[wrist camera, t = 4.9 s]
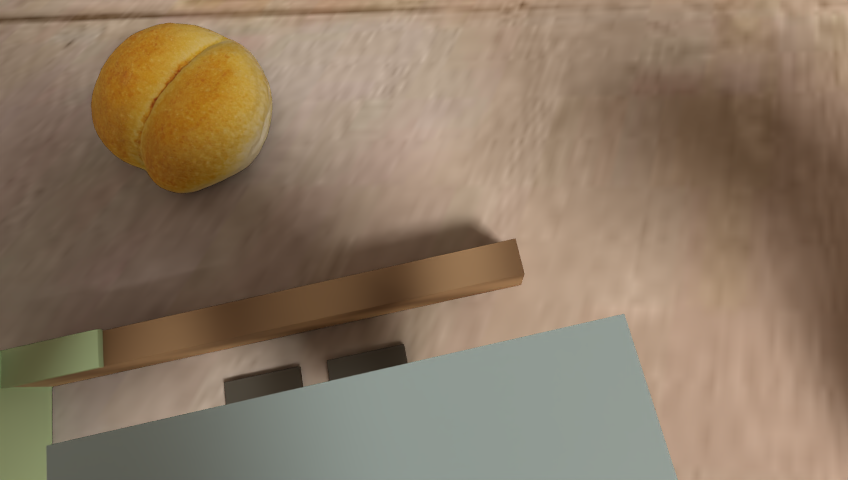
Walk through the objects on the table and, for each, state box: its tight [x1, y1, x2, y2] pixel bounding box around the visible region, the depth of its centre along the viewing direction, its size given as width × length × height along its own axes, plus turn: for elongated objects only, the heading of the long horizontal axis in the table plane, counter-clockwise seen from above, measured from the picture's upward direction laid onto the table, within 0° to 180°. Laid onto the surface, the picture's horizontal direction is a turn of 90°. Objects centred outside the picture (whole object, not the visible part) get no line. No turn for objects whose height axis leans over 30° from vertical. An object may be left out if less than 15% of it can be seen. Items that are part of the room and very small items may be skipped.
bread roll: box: [91, 23, 272, 193], centre depth 26 cm, size 8×9×4 cm
